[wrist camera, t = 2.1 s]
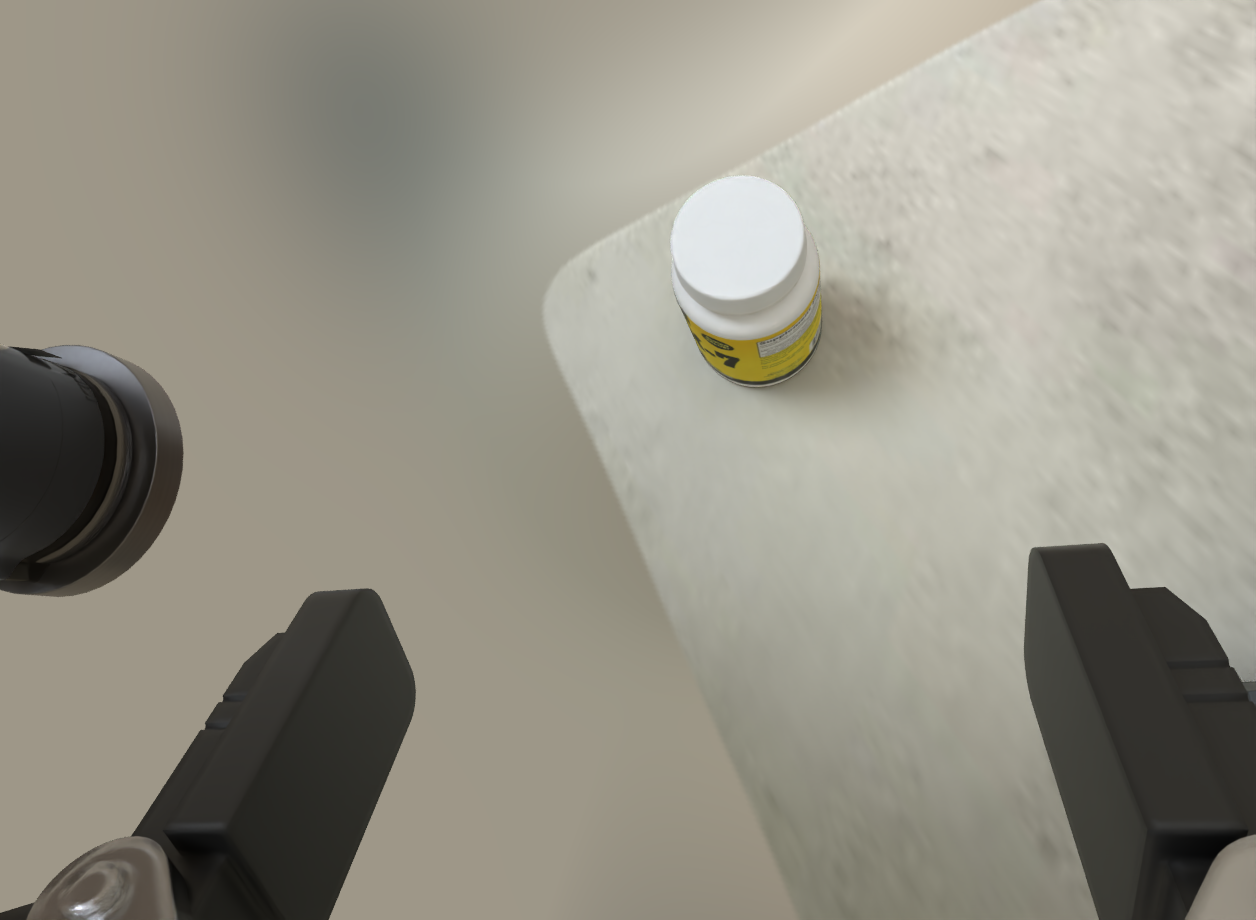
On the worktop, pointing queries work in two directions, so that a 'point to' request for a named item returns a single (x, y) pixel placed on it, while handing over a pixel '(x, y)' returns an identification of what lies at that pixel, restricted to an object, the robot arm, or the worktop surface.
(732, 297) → the supplement bottle
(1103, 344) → the worktop surface
